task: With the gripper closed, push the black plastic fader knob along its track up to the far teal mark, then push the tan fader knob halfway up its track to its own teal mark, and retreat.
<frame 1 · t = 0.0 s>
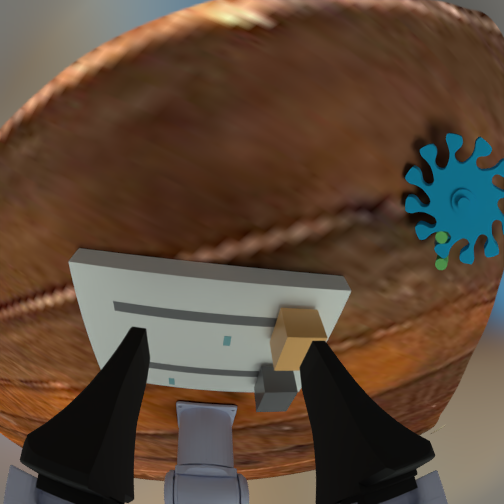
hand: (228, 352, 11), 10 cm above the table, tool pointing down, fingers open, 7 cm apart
gear: (433, 188, 19), on the table
black fader: (274, 389, 24), point 4 cm above the table, slide at 0.0 cm
fader panel: (203, 330, 25), on the table
tan fader: (296, 340, 21), point 4 cm above the table, slide at 0.0 cm
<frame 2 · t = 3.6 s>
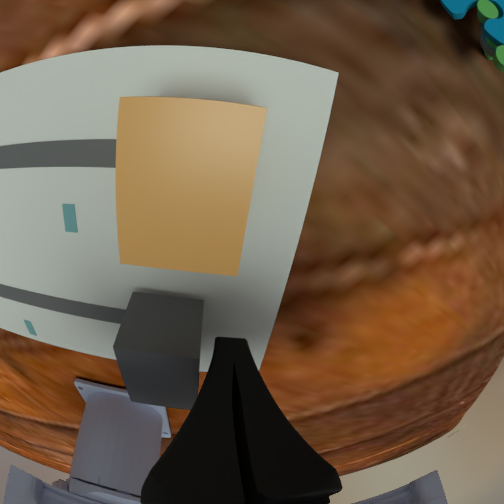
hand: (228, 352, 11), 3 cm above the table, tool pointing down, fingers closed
black fader: (164, 354, 11), point 4 cm above the table, slide at 0.8 cm, touching gripper
fader panel: (59, 219, 11), on the table
tan fader: (189, 173, 7), point 4 cm above the table, slide at 0.0 cm
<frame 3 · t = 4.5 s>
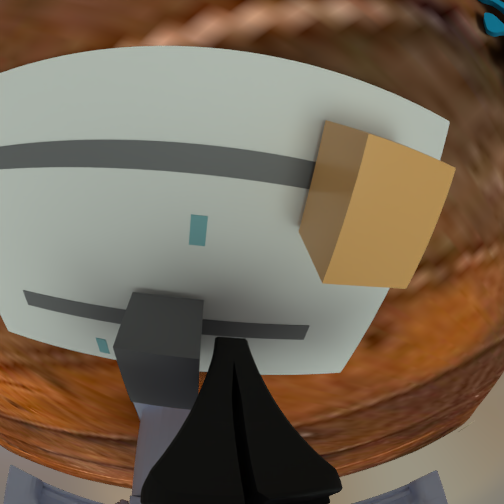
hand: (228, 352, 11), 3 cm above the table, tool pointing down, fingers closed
black fader: (164, 355, 11), point 4 cm above the table, slide at 6.1 cm, touching gripper
fader panel: (156, 228, 12), on the table
tan fader: (370, 202, 8), point 4 cm above the table, slide at 0.0 cm
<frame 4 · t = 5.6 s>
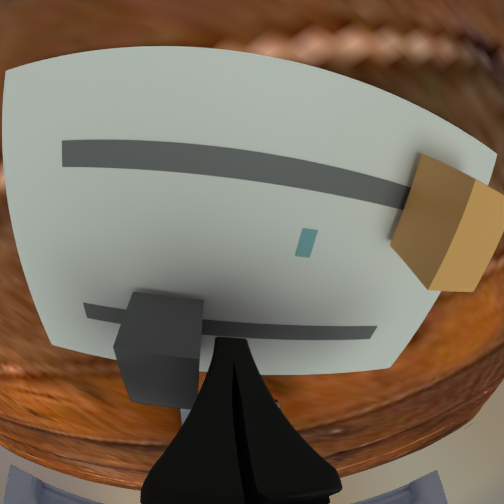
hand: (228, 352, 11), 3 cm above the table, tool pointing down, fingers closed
black fader: (164, 354, 11), point 4 cm above the table, slide at 10.1 cm, touching gripper
fader panel: (246, 238, 13), on the table
tan fader: (453, 224, 8), point 4 cm above the table, slide at 0.0 cm
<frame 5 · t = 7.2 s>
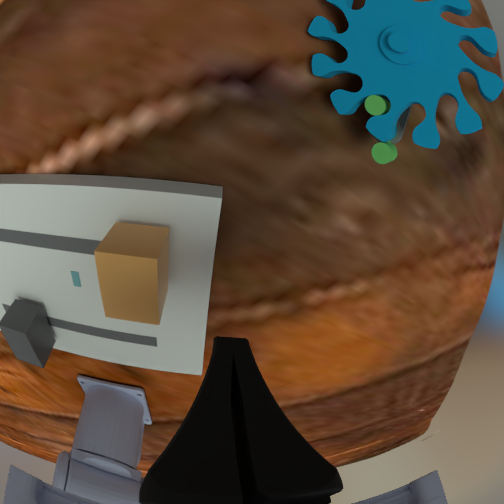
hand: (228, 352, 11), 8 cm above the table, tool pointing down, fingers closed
gear: (366, 62, 12), on the table
black fader: (28, 333, 15), point 4 cm above the table, slide at 10.2 cm
fader panel: (67, 271, 17), on the table
tan fader: (135, 272, 13), point 4 cm above the table, slide at 0.0 cm
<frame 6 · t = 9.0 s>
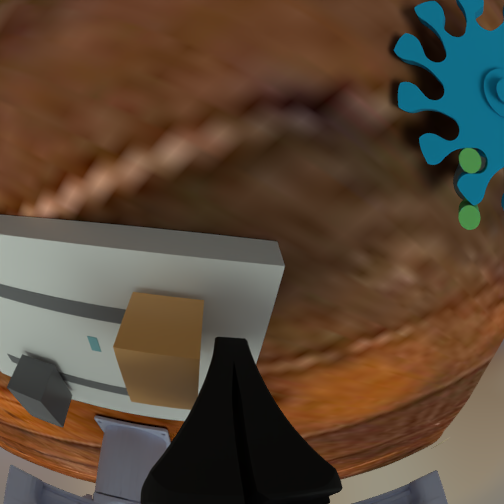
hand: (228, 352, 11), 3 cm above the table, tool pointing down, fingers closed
gear: (444, 95, 9), on the table
black fader: (41, 392, 13), point 4 cm above the table, slide at 10.2 cm
fader panel: (80, 326, 15), on the table
tan fader: (164, 354, 11), point 4 cm above the table, slide at 0.5 cm, touching gripper
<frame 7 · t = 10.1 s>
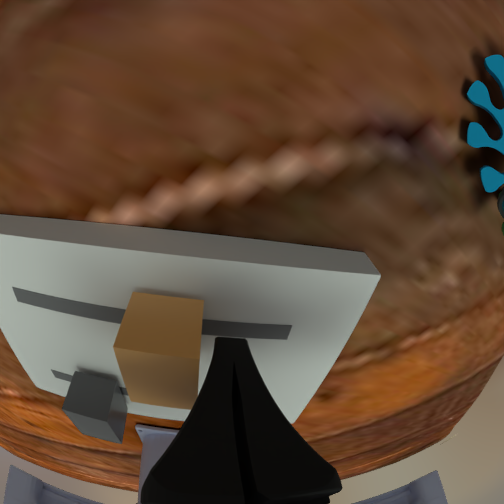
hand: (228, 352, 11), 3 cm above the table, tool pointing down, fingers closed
gear: (493, 130, 10), on the table
black fader: (97, 409, 14), point 4 cm above the table, slide at 10.2 cm
fader panel: (147, 338, 16), on the table
tan fader: (164, 354, 11), point 4 cm above the table, slide at 5.2 cm, touching gripper
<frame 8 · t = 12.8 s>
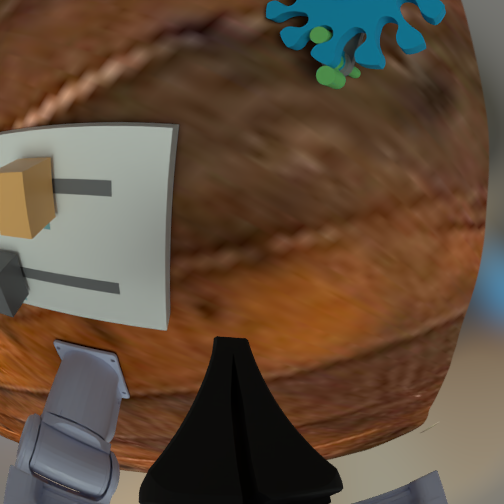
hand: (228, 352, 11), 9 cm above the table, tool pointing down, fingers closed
gear: (323, 13, 12), on the table
black fader: (2, 283, 15), point 4 cm above the table, slide at 10.2 cm
fader panel: (42, 221, 17), on the table
tan fader: (23, 196, 12), point 4 cm above the table, slide at 5.2 cm
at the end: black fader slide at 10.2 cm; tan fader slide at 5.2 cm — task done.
